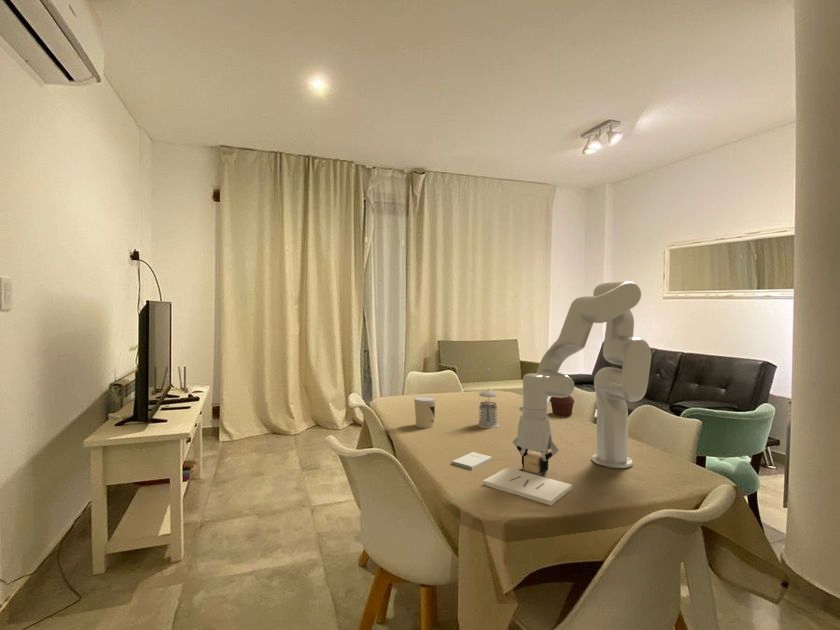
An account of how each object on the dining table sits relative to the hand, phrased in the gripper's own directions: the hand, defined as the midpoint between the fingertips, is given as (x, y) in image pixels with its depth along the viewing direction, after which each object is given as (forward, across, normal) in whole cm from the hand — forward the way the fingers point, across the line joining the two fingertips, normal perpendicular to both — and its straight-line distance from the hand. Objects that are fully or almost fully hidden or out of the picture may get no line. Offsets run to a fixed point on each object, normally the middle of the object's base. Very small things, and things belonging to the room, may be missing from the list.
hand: (534, 469), depth 140 cm
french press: (+1, -40, +36) cm, 54 cm away
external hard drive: (+1, -20, -6) cm, 21 cm away
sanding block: (+1, 0, 0) cm, 1 cm away
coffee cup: (+1, -61, +18) cm, 64 cm away
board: (+1, +4, -13) cm, 14 cm away
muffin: (+1, -24, +77) cm, 81 cm away
